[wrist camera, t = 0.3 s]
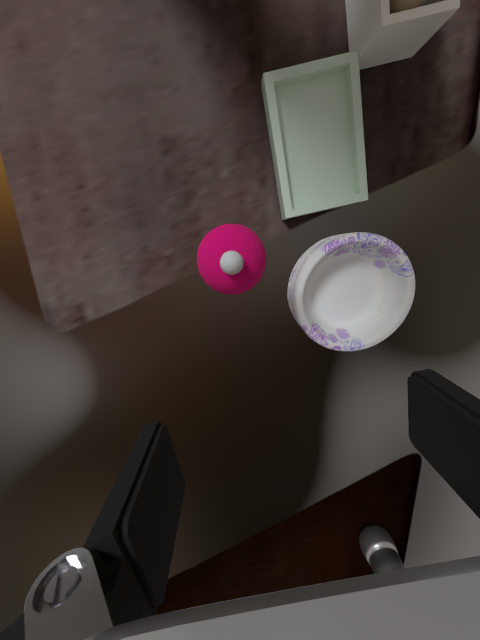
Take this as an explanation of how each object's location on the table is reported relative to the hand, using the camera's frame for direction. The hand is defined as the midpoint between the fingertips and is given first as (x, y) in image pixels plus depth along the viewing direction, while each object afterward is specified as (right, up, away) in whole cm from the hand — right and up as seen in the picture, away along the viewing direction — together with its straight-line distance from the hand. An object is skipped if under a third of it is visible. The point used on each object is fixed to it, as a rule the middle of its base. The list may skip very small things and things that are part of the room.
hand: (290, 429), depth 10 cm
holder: (+15, +39, +21) cm, 47 cm away
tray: (+8, +27, +24) cm, 37 cm away
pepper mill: (-3, +14, +28) cm, 32 cm away
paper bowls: (+12, +9, +30) cm, 34 cm away
